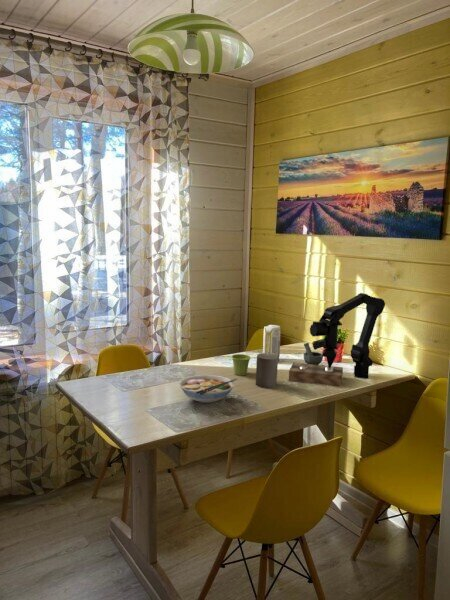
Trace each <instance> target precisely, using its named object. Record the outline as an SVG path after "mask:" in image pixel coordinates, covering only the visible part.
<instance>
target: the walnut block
mask: <svg viewBox="0 0 450 600" xmlns="http://www.w3.org/2000/svg"><path fill="white" fill-rule="evenodd" d="M300 366H307V367H308V369H300ZM325 366H326V365H321V364H319V365H313V364H307V363H300V362H292V364H291V366H290V369H289V371H288V382H289V381H290V382H296V383H305V382H306V384H307V383H309V384H316V385H325V386H326V385H327V386H335V387H341V386H342V382H343V381H342V380H343V371H344V368H343V367H342V366H334V365H332V367H334V372H328V371H325Z"/></svg>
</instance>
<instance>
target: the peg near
mask: <svg viewBox="0 0 450 600" xmlns="http://www.w3.org/2000/svg"><path fill="white" fill-rule="evenodd" d="M324 366H325V371H328V372H334V367H335V366H334V367H332V366H333V365H332V366H331V367H328V365H324Z"/></svg>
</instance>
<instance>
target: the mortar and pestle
mask: <svg viewBox="0 0 450 600" xmlns="http://www.w3.org/2000/svg"><path fill="white" fill-rule="evenodd" d="M303 347H304V348H305V352H304V353H303V359H304V363H305V364H313V365H321V364H322V362H323V359H324V357H323V356H322V353H320V352H315V351H312V349H311V346H310V343H309V342H306V343H304V344H303Z"/></svg>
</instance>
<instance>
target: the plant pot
mask: <svg viewBox="0 0 450 600" xmlns="http://www.w3.org/2000/svg"><path fill="white" fill-rule="evenodd" d="M251 358H252V357H251V355H249V354H244V353H237V354H232V355H231V360H232V364H233V374H234V375H236V376H241V377H242V376H244V375H245V376H246V375H247V374H248V367H249V363H250V360H251Z"/></svg>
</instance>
